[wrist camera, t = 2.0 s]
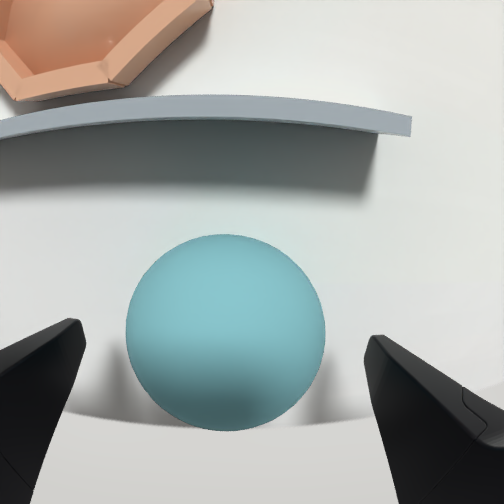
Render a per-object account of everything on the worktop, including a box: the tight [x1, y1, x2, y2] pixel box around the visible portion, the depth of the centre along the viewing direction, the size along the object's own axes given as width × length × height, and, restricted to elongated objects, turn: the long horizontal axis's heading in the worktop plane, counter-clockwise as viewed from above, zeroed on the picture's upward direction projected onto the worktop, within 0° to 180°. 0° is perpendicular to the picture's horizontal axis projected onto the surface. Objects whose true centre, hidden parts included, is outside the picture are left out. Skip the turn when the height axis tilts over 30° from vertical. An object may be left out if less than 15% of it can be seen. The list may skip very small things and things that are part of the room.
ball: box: [126, 234, 325, 431], centre depth 10 cm, size 6×6×6 cm
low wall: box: [0, 95, 412, 140], centre depth 9 cm, size 18×1×2 cm, turn 87°
